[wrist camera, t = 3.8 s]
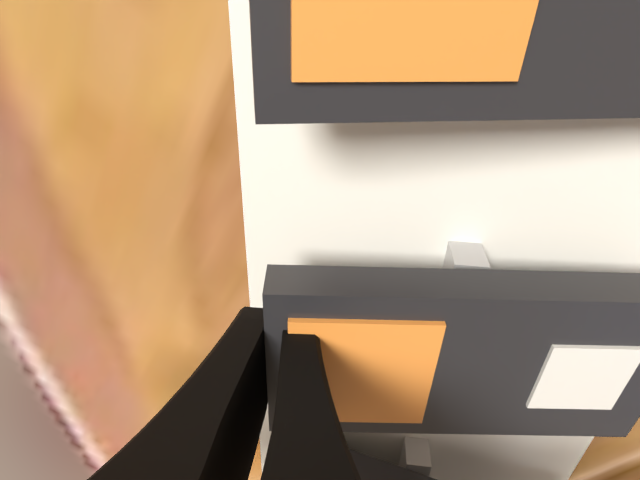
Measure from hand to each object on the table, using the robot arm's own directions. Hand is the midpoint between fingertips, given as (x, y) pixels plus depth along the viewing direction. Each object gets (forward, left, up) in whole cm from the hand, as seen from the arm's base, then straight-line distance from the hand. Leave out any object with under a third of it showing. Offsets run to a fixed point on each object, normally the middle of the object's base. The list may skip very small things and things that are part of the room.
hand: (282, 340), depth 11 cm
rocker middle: (0, -4, 0) cm, 4 cm away
